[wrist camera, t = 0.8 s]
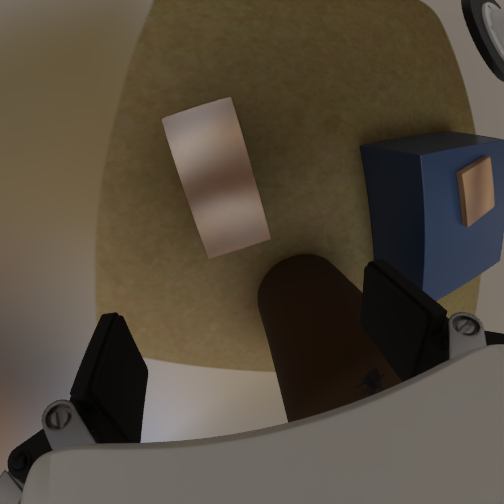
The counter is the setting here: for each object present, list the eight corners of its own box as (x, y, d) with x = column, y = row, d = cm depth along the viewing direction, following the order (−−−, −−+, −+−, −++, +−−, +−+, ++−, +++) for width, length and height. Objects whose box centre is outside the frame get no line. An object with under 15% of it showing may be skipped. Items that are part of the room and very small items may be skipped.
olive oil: (230, 305, 29) (290, 565, 6) (299, 227, 27) (500, 461, 4) (299, 344, 33) (384, 532, 10) (360, 281, 31) (506, 450, 8)
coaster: (484, 155, 17) (490, 156, 16) (489, 204, 19) (494, 206, 19) (455, 172, 17) (462, 174, 17) (461, 225, 19) (467, 227, 19)
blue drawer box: (454, 130, 25) (509, 139, 17) (458, 231, 31) (504, 257, 23) (359, 145, 25) (420, 155, 16) (374, 268, 30) (420, 309, 22)
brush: (169, 122, 21) (160, 118, 17) (225, 104, 21) (231, 96, 17) (207, 237, 26) (208, 259, 21) (259, 220, 26) (271, 239, 21)
